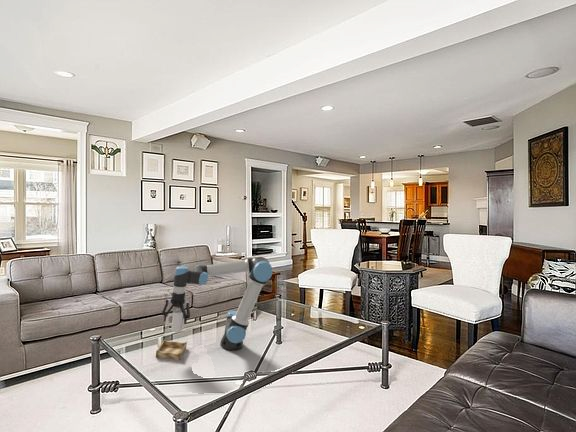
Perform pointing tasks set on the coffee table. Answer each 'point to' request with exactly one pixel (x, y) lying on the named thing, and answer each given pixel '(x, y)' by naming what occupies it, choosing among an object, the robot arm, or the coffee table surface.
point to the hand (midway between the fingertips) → (174, 327)
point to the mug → (176, 320)
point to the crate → (171, 350)
